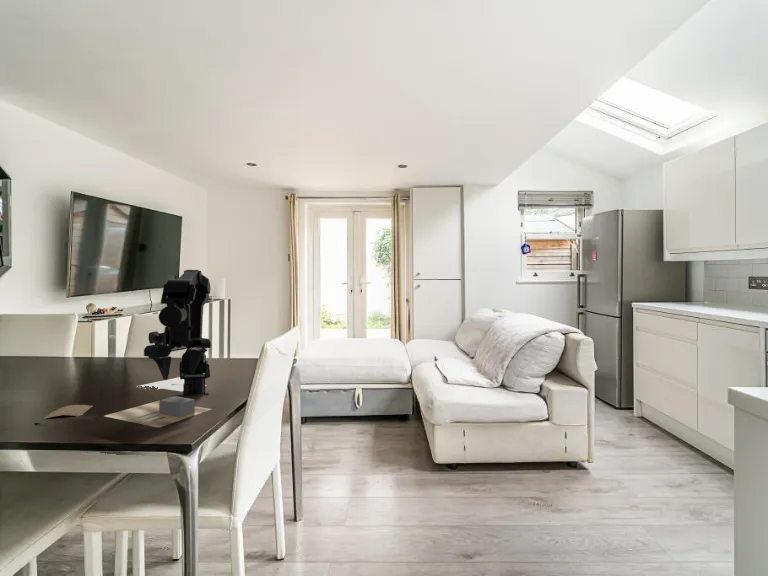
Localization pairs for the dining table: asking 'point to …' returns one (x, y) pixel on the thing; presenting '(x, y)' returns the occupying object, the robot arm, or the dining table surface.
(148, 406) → the plywood board
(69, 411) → the clay tablet
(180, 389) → the paper sheet
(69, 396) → the dining table surface
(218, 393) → the dining table surface
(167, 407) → the block
